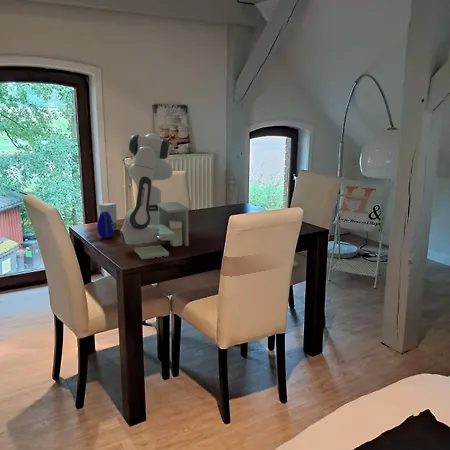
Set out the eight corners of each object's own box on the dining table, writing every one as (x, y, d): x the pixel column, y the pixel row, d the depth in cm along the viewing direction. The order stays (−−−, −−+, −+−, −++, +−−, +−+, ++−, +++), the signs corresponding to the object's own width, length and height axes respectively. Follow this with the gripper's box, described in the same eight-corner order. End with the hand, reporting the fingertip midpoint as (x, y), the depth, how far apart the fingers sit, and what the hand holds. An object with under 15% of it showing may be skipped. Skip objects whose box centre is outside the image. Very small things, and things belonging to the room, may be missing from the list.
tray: (142, 259, 236) (141, 255, 235) (134, 251, 248) (134, 248, 247) (168, 255, 241) (168, 252, 241) (160, 248, 253) (160, 244, 253)
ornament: (114, 239, 268) (113, 213, 264) (97, 240, 266) (95, 213, 263) (114, 234, 279) (113, 208, 275) (98, 235, 277) (96, 209, 273)
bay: (169, 248, 253) (168, 210, 248) (158, 239, 270) (157, 203, 265) (189, 246, 258) (189, 208, 253) (177, 236, 275) (176, 201, 270)
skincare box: (107, 232, 284) (106, 205, 280) (99, 230, 287) (98, 204, 283) (118, 229, 291) (116, 203, 287) (109, 227, 294) (108, 202, 290)
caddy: (173, 246, 257) (172, 219, 253) (170, 243, 261) (169, 217, 258) (182, 245, 259) (181, 218, 255) (179, 242, 263) (178, 216, 260)
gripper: (157, 232, 243) (184, 229, 249) (146, 223, 261) (171, 220, 267) (158, 244, 245) (184, 241, 250) (146, 234, 263) (171, 231, 268)
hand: (177, 230), depth 259 cm, fingers closed on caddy, 5 cm apart
